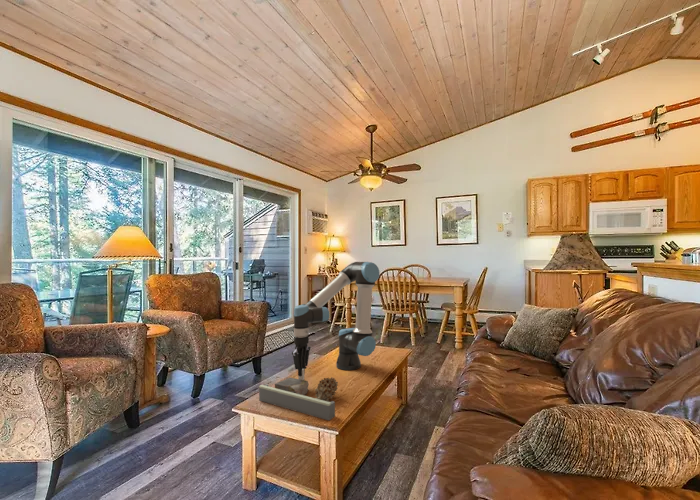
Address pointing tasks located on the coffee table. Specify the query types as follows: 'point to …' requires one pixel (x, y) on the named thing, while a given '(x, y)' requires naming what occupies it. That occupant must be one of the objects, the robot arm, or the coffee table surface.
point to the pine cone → (326, 389)
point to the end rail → (297, 402)
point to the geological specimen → (293, 386)
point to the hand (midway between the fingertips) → (301, 381)
